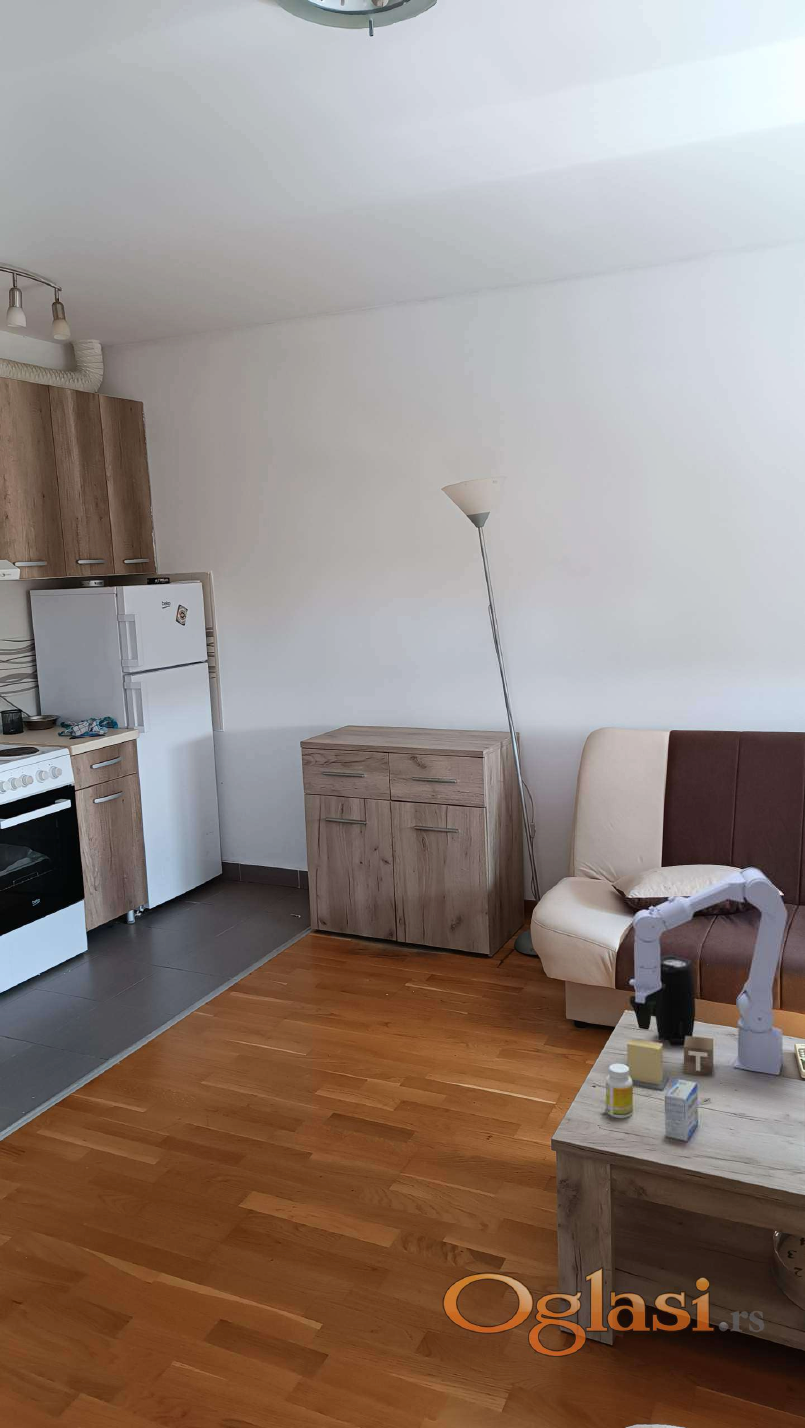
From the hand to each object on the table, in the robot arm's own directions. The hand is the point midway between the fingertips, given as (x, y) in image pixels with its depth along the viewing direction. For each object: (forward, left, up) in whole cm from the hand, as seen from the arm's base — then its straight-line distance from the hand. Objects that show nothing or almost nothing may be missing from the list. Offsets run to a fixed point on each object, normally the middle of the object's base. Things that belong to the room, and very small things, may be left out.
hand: (648, 1022), depth 224 cm
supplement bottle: (0, +25, -10) cm, 27 cm away
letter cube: (-11, -1, -9) cm, 15 cm away
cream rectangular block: (-2, +10, -9) cm, 13 cm away
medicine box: (-13, +27, -10) cm, 31 cm away
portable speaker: (-3, -14, -10) cm, 17 cm away
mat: (-2, +10, -9) cm, 13 cm away
